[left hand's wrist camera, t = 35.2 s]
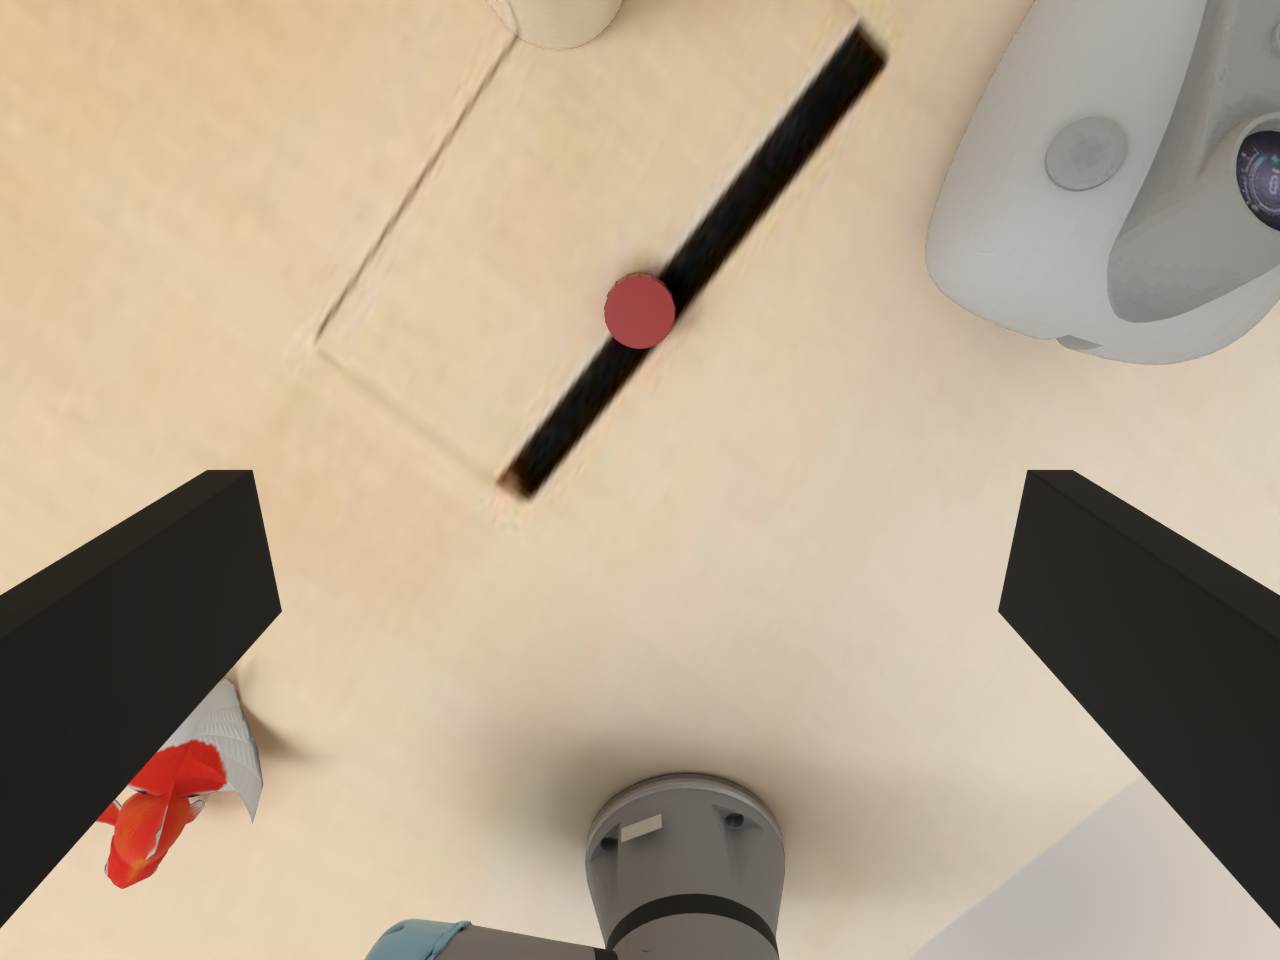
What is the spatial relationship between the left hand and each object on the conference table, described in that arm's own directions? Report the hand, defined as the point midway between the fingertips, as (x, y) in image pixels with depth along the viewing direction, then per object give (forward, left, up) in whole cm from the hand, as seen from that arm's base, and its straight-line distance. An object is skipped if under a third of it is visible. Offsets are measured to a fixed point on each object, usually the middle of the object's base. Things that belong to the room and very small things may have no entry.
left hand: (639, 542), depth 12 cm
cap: (0, 0, -29) cm, 29 cm away
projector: (+4, -26, -31) cm, 41 cm away
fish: (-22, +39, -31) cm, 54 cm away
